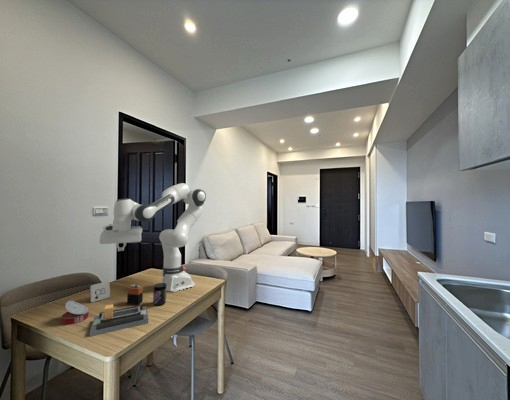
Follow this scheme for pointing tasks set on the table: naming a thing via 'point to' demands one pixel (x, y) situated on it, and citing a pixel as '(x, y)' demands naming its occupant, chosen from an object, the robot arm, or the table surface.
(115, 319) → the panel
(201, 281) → the table surface
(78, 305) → the canned food
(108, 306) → the toggle
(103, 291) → the electrical switch
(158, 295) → the supplement container
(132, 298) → the battery
